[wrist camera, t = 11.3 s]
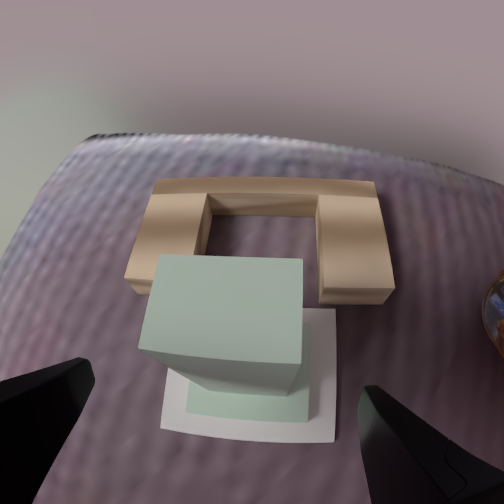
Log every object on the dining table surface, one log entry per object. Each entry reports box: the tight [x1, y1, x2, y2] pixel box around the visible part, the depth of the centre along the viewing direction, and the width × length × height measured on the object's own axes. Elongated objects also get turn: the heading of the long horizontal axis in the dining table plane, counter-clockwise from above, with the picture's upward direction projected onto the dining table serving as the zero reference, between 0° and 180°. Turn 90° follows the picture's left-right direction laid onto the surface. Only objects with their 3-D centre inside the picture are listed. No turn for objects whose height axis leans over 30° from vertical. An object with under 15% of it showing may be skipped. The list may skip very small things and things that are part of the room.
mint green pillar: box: [138, 254, 311, 423], centre depth 15 cm, size 7×8×12 cm
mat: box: [160, 308, 336, 443], centre depth 20 cm, size 10×12×1 cm
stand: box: [124, 177, 395, 305], centre depth 25 cm, size 10×20×3 cm, turn 85°
